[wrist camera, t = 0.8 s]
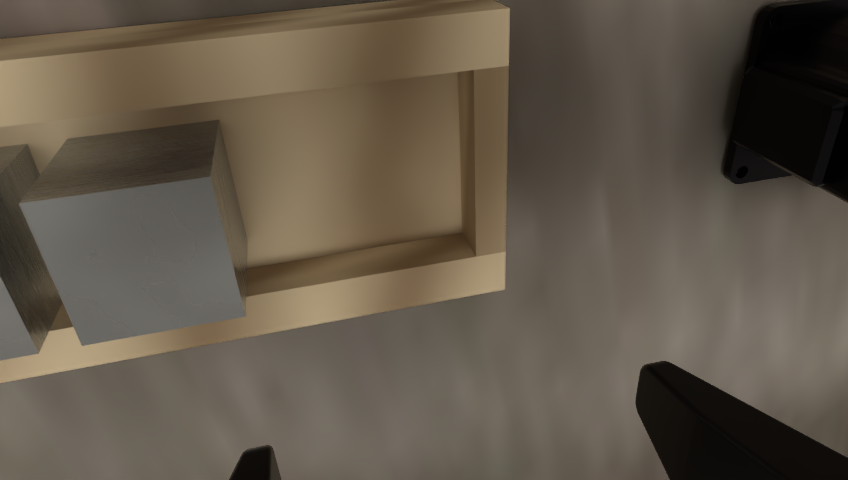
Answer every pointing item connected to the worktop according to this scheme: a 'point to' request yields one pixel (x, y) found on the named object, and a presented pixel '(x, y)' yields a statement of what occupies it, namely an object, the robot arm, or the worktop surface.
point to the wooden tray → (299, 151)
